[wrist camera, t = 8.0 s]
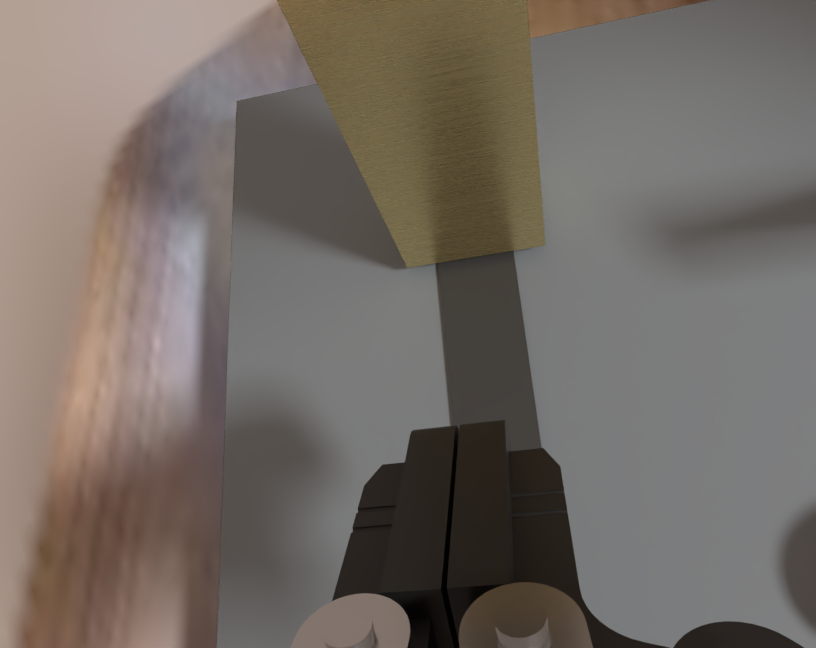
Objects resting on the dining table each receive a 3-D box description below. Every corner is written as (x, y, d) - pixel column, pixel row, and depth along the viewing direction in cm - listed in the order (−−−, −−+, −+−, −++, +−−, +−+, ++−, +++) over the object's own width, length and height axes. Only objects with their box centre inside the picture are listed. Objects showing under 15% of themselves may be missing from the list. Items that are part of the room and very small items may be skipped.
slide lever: (530, 154, 19) (485, -337, 9) (547, 259, 18) (515, -179, 8) (400, 178, 19) (225, -257, 10) (408, 281, 18) (215, -100, 8)
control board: (1044, -19, 20) (1124, -125, 17) (1527, 807, 12) (1822, 870, 9) (262, 139, 24) (219, 75, 21) (249, 832, 16) (179, 881, 13)
